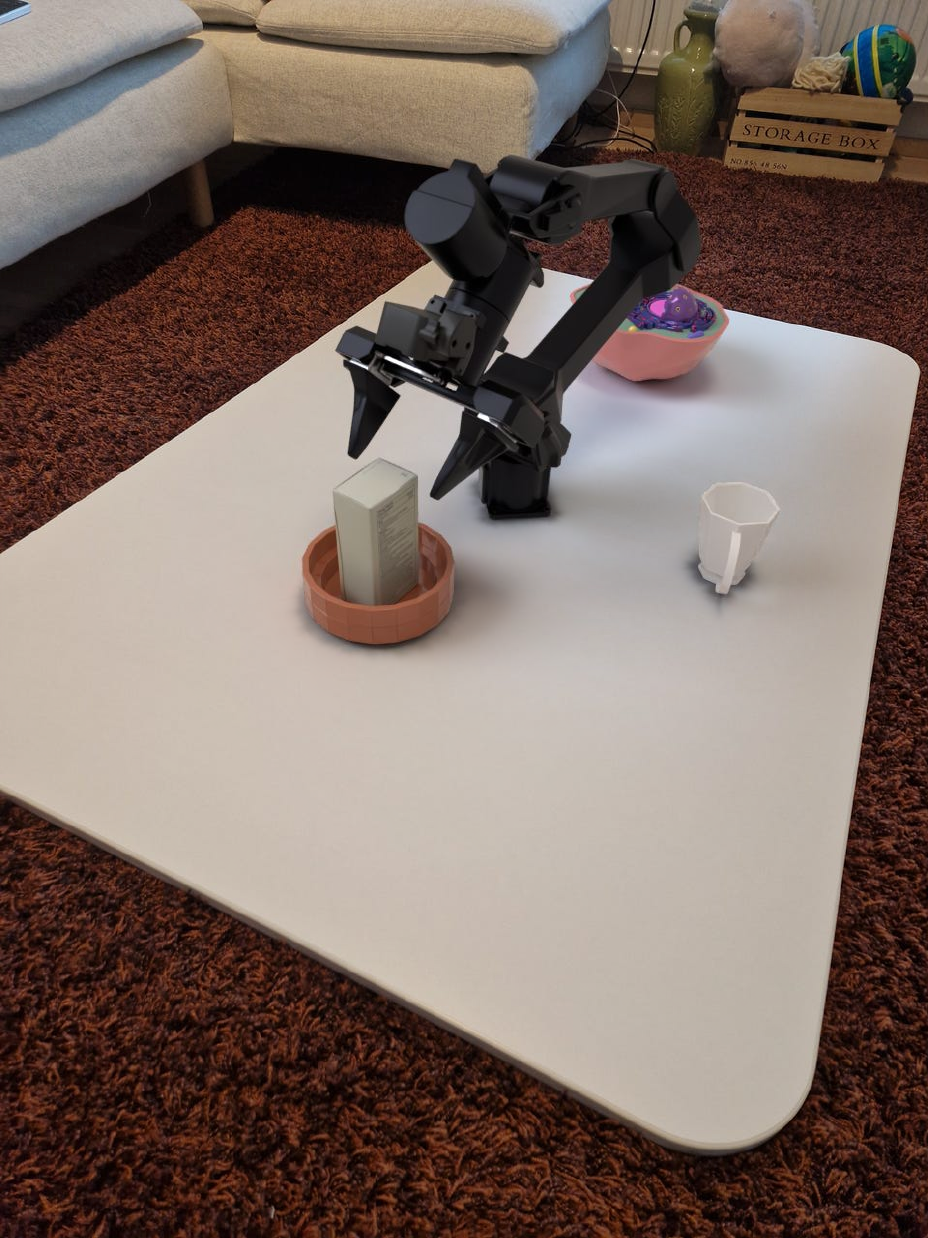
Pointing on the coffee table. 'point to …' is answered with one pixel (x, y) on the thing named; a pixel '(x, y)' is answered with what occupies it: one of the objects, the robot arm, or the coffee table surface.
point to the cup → (732, 530)
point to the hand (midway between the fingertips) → (391, 477)
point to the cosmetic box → (377, 533)
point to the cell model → (663, 335)
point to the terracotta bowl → (385, 621)
